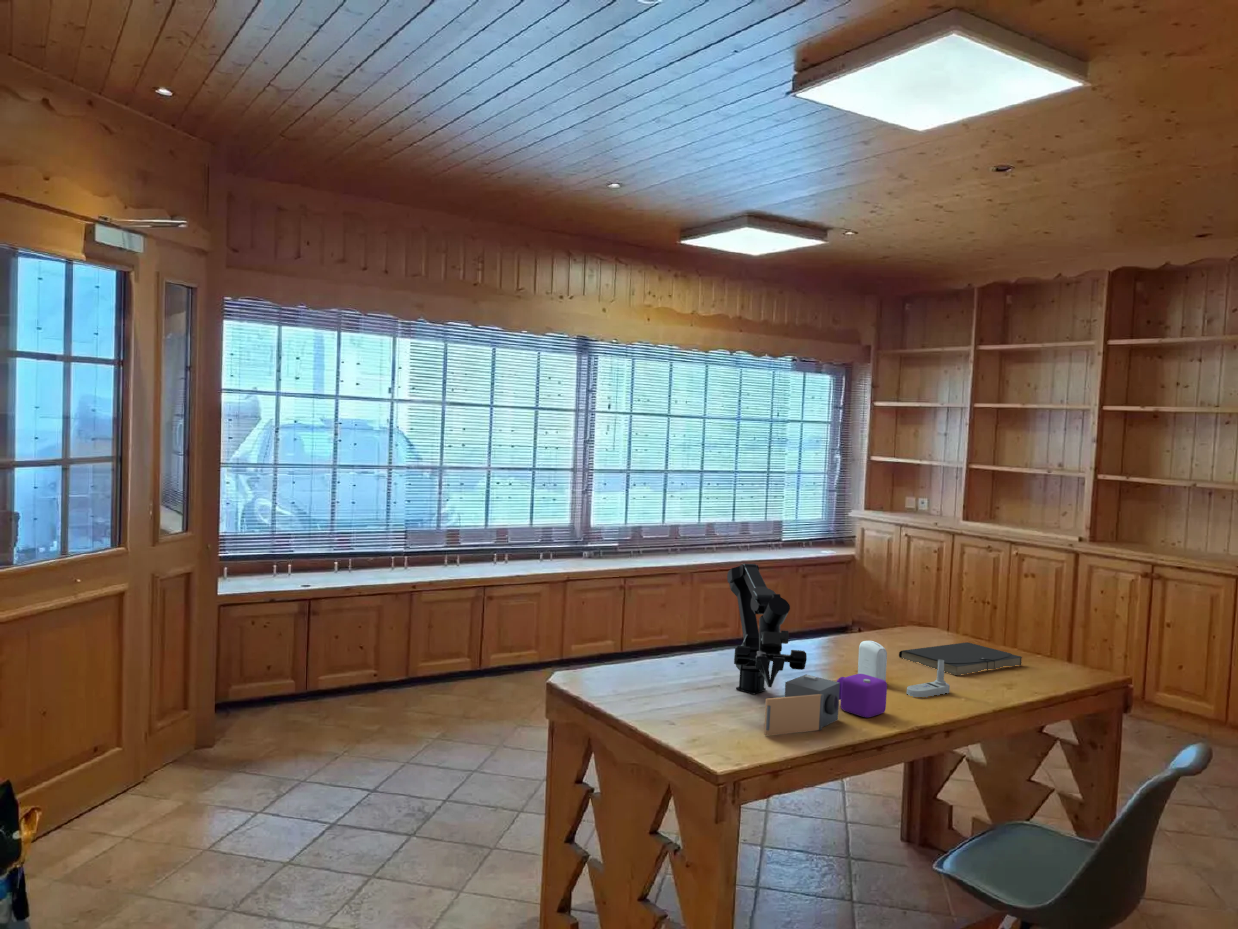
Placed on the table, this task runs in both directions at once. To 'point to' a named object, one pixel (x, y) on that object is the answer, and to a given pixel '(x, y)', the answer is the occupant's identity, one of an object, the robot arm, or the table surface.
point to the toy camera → (863, 695)
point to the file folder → (961, 657)
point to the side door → (793, 714)
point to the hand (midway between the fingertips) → (770, 686)
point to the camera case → (817, 686)
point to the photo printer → (872, 659)
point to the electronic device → (931, 685)
